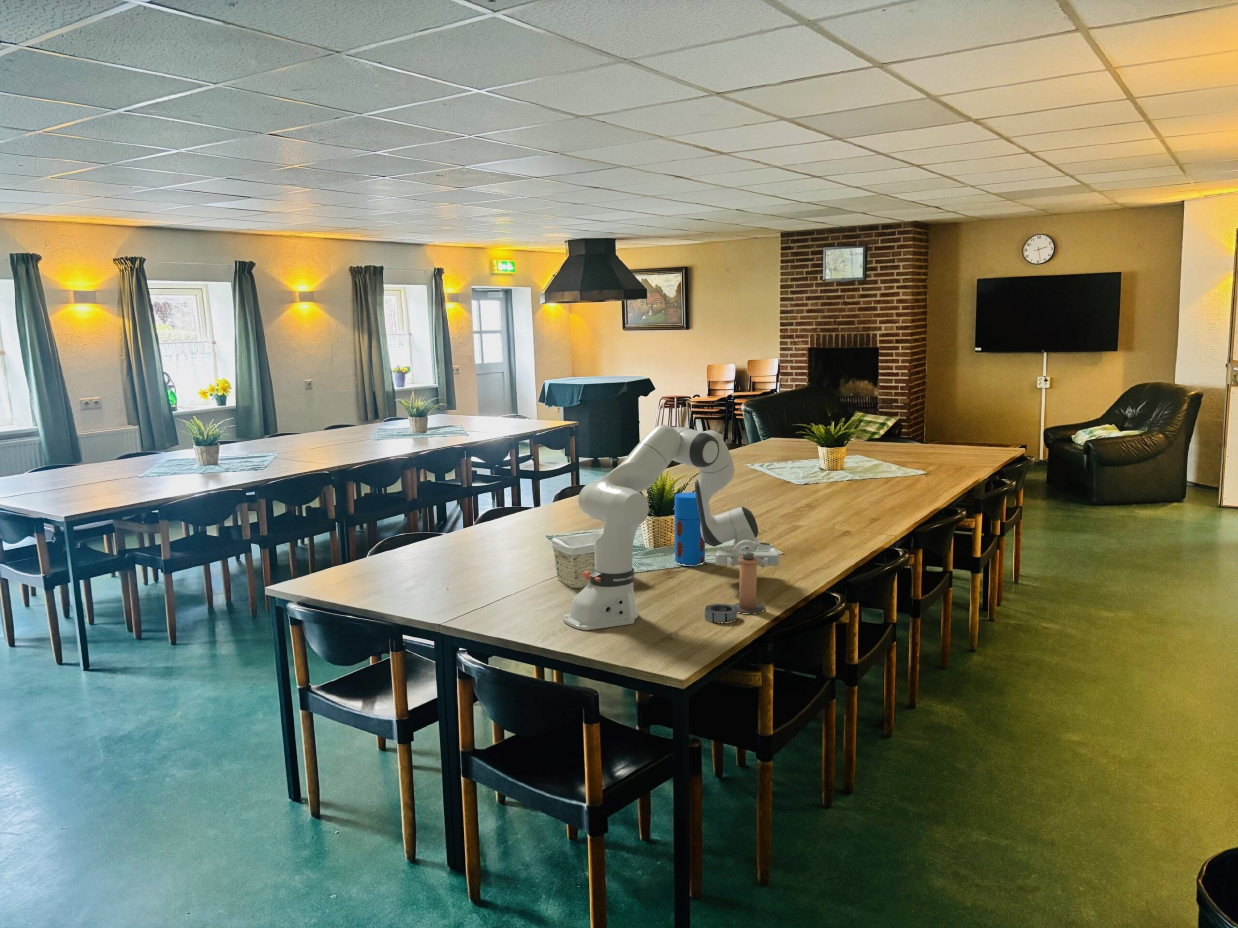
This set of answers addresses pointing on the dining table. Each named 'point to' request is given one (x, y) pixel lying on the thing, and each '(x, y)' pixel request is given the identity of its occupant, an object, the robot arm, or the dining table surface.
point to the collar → (720, 613)
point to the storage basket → (575, 557)
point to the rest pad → (758, 609)
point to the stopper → (748, 581)
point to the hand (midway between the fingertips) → (747, 564)
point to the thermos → (688, 531)
